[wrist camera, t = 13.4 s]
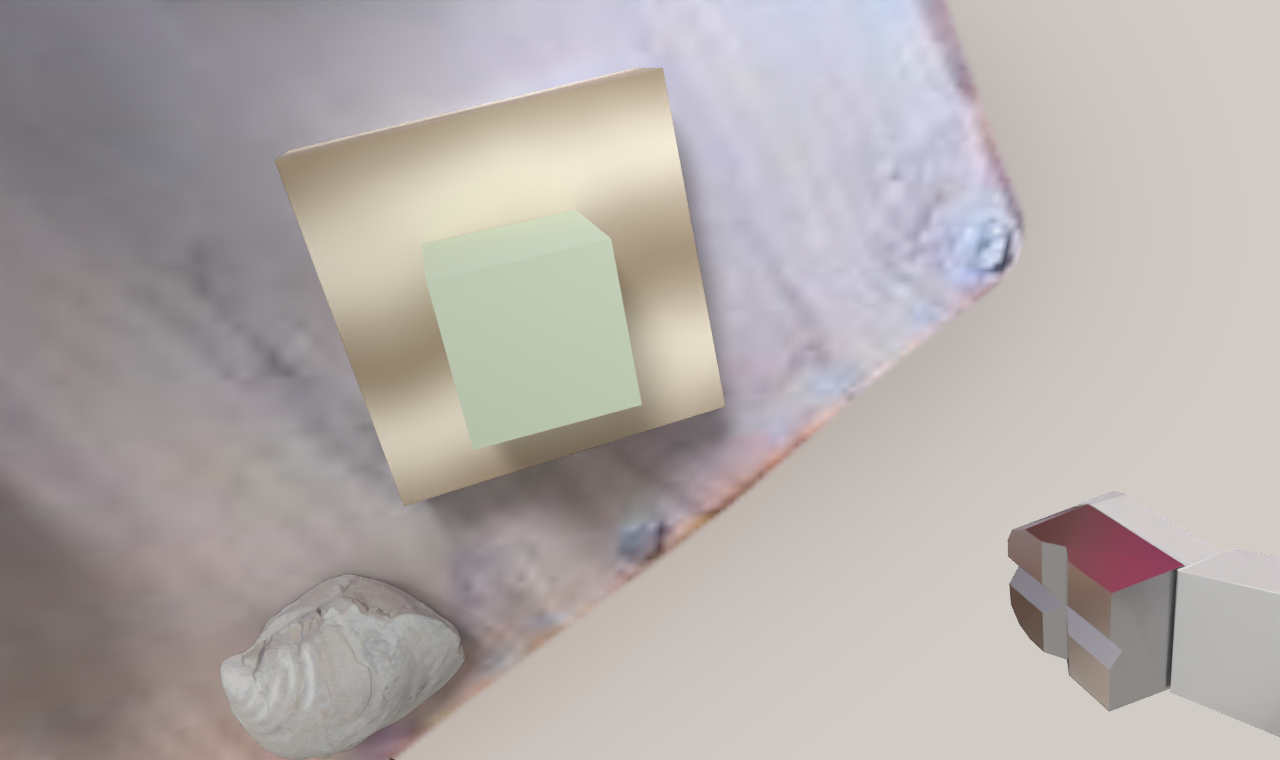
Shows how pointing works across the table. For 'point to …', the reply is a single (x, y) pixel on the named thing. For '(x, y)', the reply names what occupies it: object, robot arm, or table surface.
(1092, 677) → the robot arm
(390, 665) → the white clam shell
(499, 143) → the ash block
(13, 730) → the table surface
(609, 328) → the sage cube
